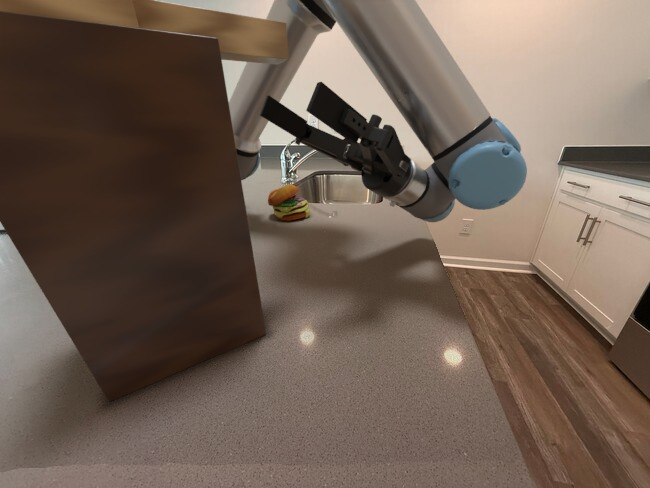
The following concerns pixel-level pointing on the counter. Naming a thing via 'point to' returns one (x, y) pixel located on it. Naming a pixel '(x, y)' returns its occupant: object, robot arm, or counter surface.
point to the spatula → (173, 23)
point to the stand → (126, 193)
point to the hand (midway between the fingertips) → (284, 101)
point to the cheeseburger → (288, 203)
